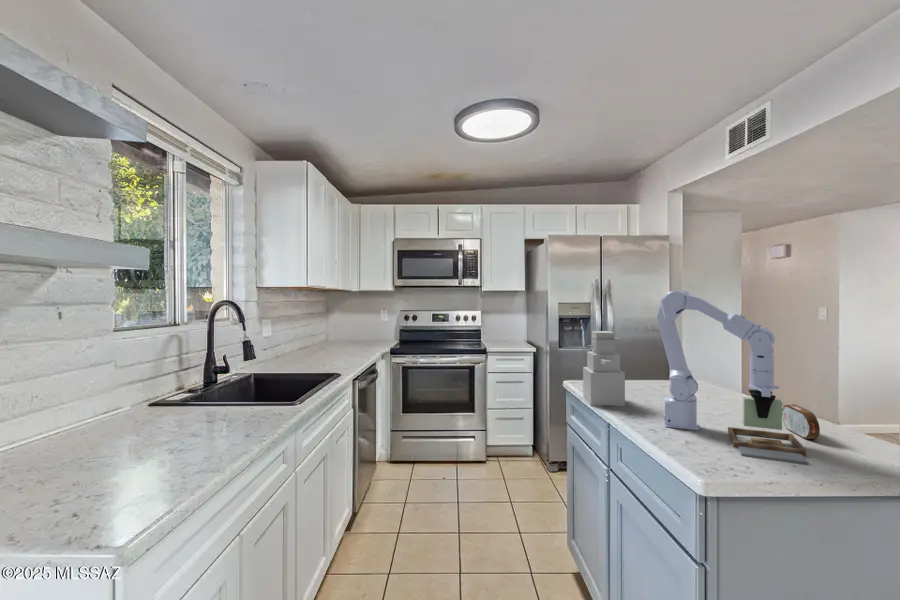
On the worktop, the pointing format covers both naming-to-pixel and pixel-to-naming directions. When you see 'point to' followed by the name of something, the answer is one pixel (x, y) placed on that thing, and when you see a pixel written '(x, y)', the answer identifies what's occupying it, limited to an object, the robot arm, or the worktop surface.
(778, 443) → the offcut stack
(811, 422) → the tin
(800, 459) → the slate mat
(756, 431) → the brown flat square frame
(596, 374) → the stacked tiered boxes
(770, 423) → the board
